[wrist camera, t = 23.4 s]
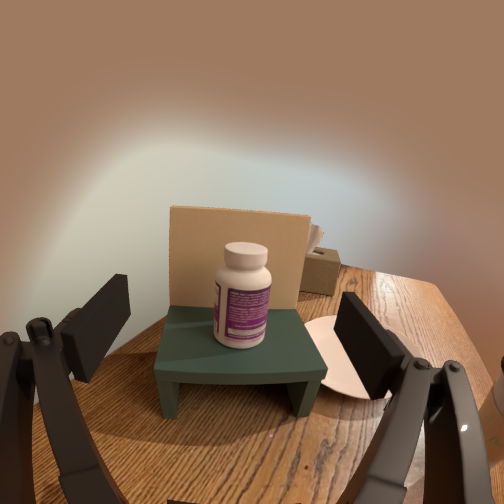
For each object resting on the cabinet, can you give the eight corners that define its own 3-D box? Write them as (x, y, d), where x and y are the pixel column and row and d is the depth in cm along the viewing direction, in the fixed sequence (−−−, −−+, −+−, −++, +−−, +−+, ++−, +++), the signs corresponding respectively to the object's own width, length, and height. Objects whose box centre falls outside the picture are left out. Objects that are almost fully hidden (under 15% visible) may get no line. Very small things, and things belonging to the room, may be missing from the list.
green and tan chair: (162, 421, 23) (142, 232, 18) (173, 349, 36) (171, 205, 30) (310, 419, 26) (361, 246, 20) (284, 351, 38) (307, 215, 32)
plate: (333, 314, 51) (335, 303, 50) (430, 354, 37) (435, 344, 36) (260, 360, 36) (262, 348, 35) (394, 434, 22) (402, 423, 22)
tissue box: (332, 280, 68) (343, 219, 63) (335, 296, 58) (349, 226, 54) (259, 269, 71) (266, 207, 66) (252, 283, 62) (259, 213, 57)
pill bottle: (273, 334, 29) (285, 248, 26) (246, 357, 24) (256, 261, 22) (232, 317, 31) (239, 236, 29) (202, 336, 27) (205, 245, 24)
